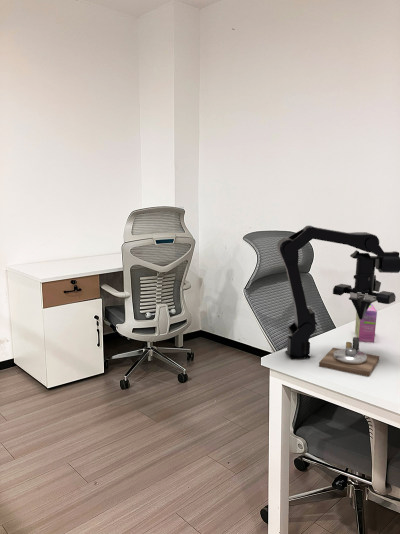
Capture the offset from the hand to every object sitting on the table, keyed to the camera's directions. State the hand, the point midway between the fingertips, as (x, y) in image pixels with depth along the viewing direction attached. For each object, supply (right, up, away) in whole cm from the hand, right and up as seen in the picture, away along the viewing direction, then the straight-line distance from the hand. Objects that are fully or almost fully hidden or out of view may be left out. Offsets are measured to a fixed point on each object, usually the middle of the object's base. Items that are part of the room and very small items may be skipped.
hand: (361, 319), depth 153 cm
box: (+8, -9, +21) cm, 24 cm away
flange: (-4, -12, -3) cm, 13 cm away
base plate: (-5, -14, -4) cm, 15 cm away
